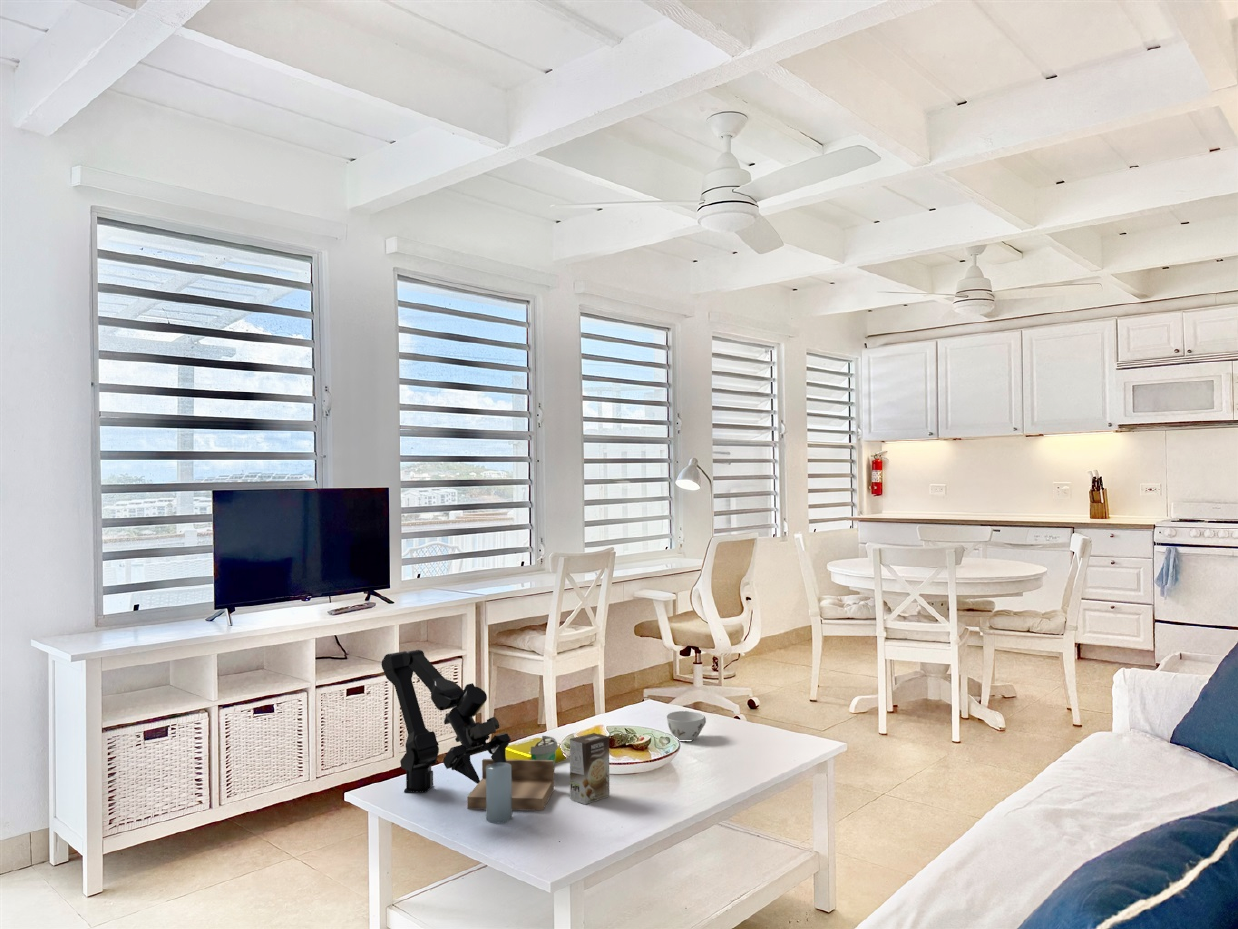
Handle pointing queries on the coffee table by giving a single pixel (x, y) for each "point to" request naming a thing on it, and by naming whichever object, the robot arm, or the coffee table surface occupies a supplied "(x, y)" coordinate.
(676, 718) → the teacup
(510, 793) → the frosted glass cup
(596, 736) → the coffee box
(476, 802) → the shelf
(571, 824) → the coffee table surface
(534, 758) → the food container
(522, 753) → the yellow bowl
